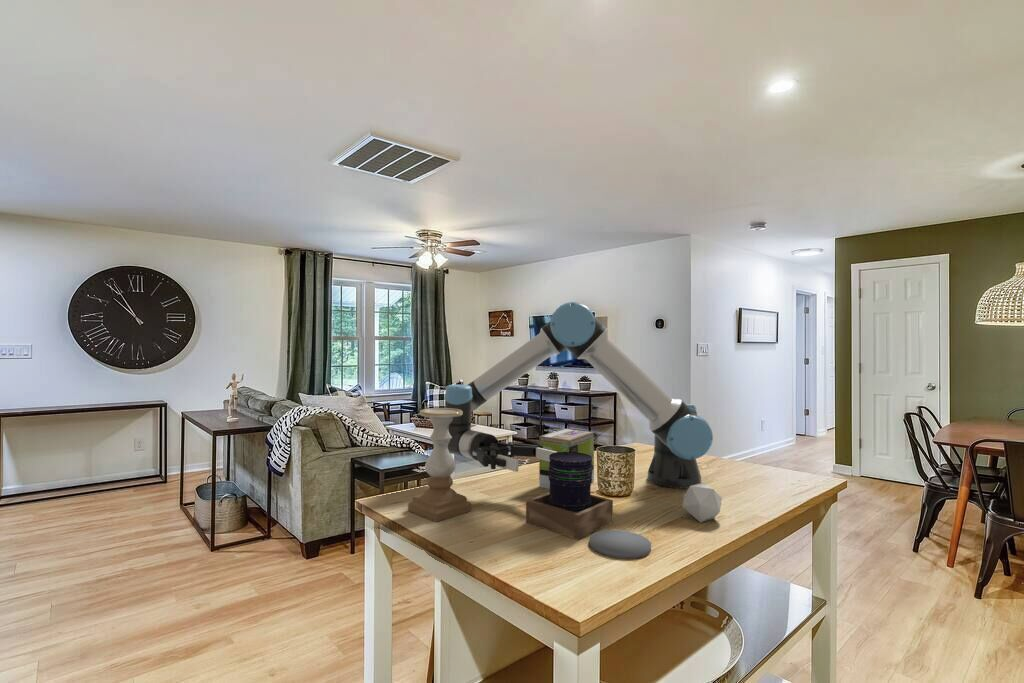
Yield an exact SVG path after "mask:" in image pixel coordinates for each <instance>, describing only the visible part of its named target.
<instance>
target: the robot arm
mask: <svg viewBox="0 0 1024 683" xmlns="http://www.w3.org/2000/svg"><path fill="white" fill-rule="evenodd" d="M608 334H609V333H608V328H607V327H606V326H605V325H604V324H603V323H602V322H601V321H600V320H599V319H598V318H597V317H596V316H595V315H594V313H593V312H592V310H591V309H590V308H589V307H588V306H587V305H585V304H583V303H580V302H577V301H576V302H575V301H570V302H566V303H564V304H562V305H560V306H559V307H557V308H556V310H555V311H554V312H553V313H552V315H551V318H550V320H549V321H548V322H547V323H546V324H545V325H543V326H541V327H540V331H539V333H538V334H537V335H534V336H533V337H532V338H531V339H530V340H528V341H527V342H525V343H524V344H522V345H521V346H520V347H518V348H517V349H516V350H514V351H513V352H511V353H510V354H509V355H507V356H506V357H505V358H503V359H501V360H500V361H499V362H498V363H496V364H494V365H493V366H492V367H491V368H489V369H488V370H486V371H485V372H483V373H481V375H480V376H478V377H476V378H475V379H473V381H471V382H469V383H468V384H449V385H447V386H446V387H445V395H444V408H453V409H460V410H462V411H463V414H462V415H461V416H458V417H453V420H452V422H451V423H450V425H449V428H448V430H449V433H450V435H451V436H452V439H450V442H449V444H448V450H449V452H450V454H451V455H457V456H460V457H463V458H464V457H465V458H467V459H470V460H471V461H473V462H474V461H478V462H479V463H480V465H482V466H483V467H485V468H488V467H489V465H490V469H491V470H496V469H497V468H496V467H498V468H502V469H506V470H509V471H512V472H514V473H518V472H519V461H520V460H519V459H517V458H514V457H531V458H535V459H538V460H540V459H541V460H545V461H549V462H550V460H549V455H550V454H552V453H557V452H556V451H551V450H547V449H543V446H541V445H540V444H539V443H537V444H529V443H516V442H513V441H509V442H507V443H506V442H503V441H499V439H498V438H497V437H496V436H495V435H493V434H490V433H486V432H483V431H477V430H473V429H472V412H474V411H475V410H477V409H479V407H481V406H483V405H484V404H485V403H486V402H488V401H489V400H490V399H492V398H493V397H495V396H496V395H498V394H499V393H500V392H502V391H503V390H504V389H506V388H508V387H509V386H510V385H512V384H514V382H516V381H517V380H519V379H521V378H522V377H523V376H524V375H526V374H528V373H529V372H530V371H532V370H533V369H534V368H536V367H537V366H539V365H541V364H542V363H543V362H544V361H547V359H549V358H550V357H552V356H553V355H554V354H557V355H560V354H562V353H563V352H565V351H566V350H567V351H568V352H569V353H570V354H572V355H573V356H574V357H575V358H576V359H577V360H586V361H587V362H588V363H589V364H590V365H591V366H592V367H593V368H594V370H596V371H597V372H598V373H599V374H600V375H601V376H602V377H604V379H605V380H606V381H608V383H610V384H611V386H612V387H613V388H615V390H616V391H618V392H619V393H620V394H621V395H622V396H623V397H624V398H625V399H626V400H627V401H628V402H629V403H630V404H631V405H632V406H633V407H634V408H635V409H636V410H637V411H638V412H639V413H640V414H641V415H643V417H644V418H645V419H646V420H647V421H648V423H649V425H648V426H649V431H650V432H652V433H653V435H654V437H653V438H654V439H653V440H654V441H653V442H654V443H653V445H654V446H653V449H654V451H653V456H652V459H651V462H650V464H649V468H648V470H647V480H648V482H650V483H652V484H655V485H657V486H662V487H664V488H665V487H666V488H667V487H668V488H674V489H689V487H690V486H692V485H696V484H701V483H702V475H701V470H700V469H699V465H698V462H697V459H699V458H702V457H703V456H705V455H706V454H707V453H708V452H709V451H710V449H711V446H712V444H713V438H714V436H713V431H712V428H711V426H710V424H709V423H708V422H707V420H705V419H704V418H702V417H701V416H698V412H697V407H696V405H695V404H689V403H688V404H686V403H685V402H684V401H683V400H682V399H681V398H672V397H671V396H670V395H668V393H667V392H666V391H665V390H663V388H661V386H659V385H658V384H657V383H656V382H655V381H654V380H653V379H652V378H651V377H650V376H649V374H647V373H646V372H645V371H644V370H643V369H641V368H640V367H639V366H638V364H637V363H635V362H634V360H633V359H632V358H630V357H629V356H628V354H626V353H625V352H624V351H623V350H622V349H621V348H620V347H619V346H618V345H617V344H616V343H615V342H613V341H612V339H610V338H609V335H608Z"/></svg>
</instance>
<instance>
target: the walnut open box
mask: <svg viewBox="0 0 1024 683" xmlns="http://www.w3.org/2000/svg"><path fill="white" fill-rule="evenodd" d="M549 496H550V491H549V492H546V493H543V494H540V495H538V496H535V497H533V498H530V499H527V500H526V501H525V502H526V503H525V523H526V524H529V525H532V526H535V527H537V528H541V529H544V530H546V531H550V532H553V533H557V534H559V535H564V536H566V537H569V538H573V539H576V540H580V539H582V538H584V537H586V536H588V535H590V534H593V532H594V533H595V532H597V531H598V530H600V529H601V528H604V527H606V526H608V525H609V524H612V523H613V520H614V519H613V518H614V517H613V516H614V515H613V511H614V506H613V505H614V500H613V499H609V498H605V497H601V496H598V495H594V494H590V498H591V507H590V508H588V509H585V510H583V511H581V512H579V513H575V512H572V511H568V510H565V509H561V508H558V507H554V506H550V505H548V504H549V503H548V500H549Z"/></svg>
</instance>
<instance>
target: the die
mask: <svg viewBox="0 0 1024 683" xmlns="http://www.w3.org/2000/svg"><path fill="white" fill-rule="evenodd" d="M683 498H684V499H683V501H682V507H683V509H685V510H686V511H687V512H688V513H689V514H690V515H691V516H692V517H694V518H695V519H696V520H697V521H698V522H699V523H703V522H707V521H710V520H713V519H715V518H716V517H717V516H718V515H719V514H720V512H721V509H722V508H721V506H722V500H723V498H722V496H720V494H719V493H718V492H717V491H716V490H715V489H714V488H713V487H711V486H710V485H708V484H707V483H705V482H701V484H696V485H692V486H690V487H689V488H687V490H686V492H685V495H684V497H683Z"/></svg>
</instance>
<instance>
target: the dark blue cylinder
mask: <svg viewBox="0 0 1024 683" xmlns="http://www.w3.org/2000/svg"><path fill="white" fill-rule="evenodd" d="M549 460H550V462H549V476H548V477H549V481H550V489H549V492H550V496H549V500H548V503H549V504H548V505H550V506H554V507H558V508H561V509H565V510H568V511H572V512H575V513H579V512H581V511H583V510H585V509H588V508H590V507H591V498H590V495H591V486H592V483H593V482H592V463H591V462H592V456H590V455H588V454H584V453H578V452H557V453H552V454H550V455H549Z"/></svg>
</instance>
